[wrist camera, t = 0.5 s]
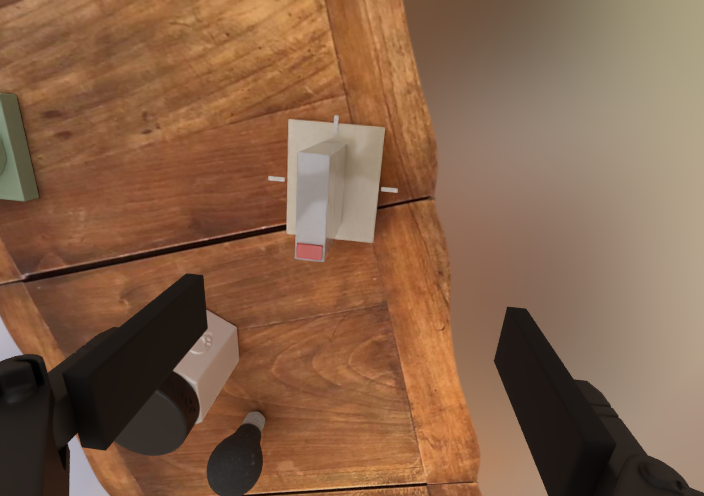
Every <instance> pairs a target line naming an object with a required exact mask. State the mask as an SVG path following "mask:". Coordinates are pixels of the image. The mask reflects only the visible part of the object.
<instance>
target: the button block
mask: <svg viewBox="0 0 704 496" xmlns="http://www.w3.org/2000/svg"><path fill="white" fill-rule="evenodd" d="M37 198H39V194H38V190H37V185H36V181H35V176H34V172H33V167H32V163H31V158H30V154H29V150H28V145H27V141H26V136H25V132H24V127H23V123H22V118H21V114H20V109H19V105H18V100H17V96H16V94H7V93H0V199H7V200H16V201H28V200H32V199H37Z"/></svg>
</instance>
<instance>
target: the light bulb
mask: <svg viewBox="0 0 704 496" xmlns="http://www.w3.org/2000/svg"><path fill="white" fill-rule="evenodd" d="M264 425H265V418H264V416H263V415H262V414H261V413H260V412H250V413H248V414H247V416H246V417H245V419H244V421H243V423H242V425H241V426H240V427H239V428H238V429H237V431H236V432H235V433H234V434H232V435H231V436H229V437H227V438H226V439H224V440H223V441H222V442H221V443H220V444H219V445H218V446H217V447H216V448H215V449H214V451H213V452H212V454H211V456H210V458H209V461H208V465H207V479H208V482H209V485H210V487H211V488H212V490H213V491H214V492H215V493H216V494H218V495H220V496H241V495H243V494H245V493H247V492H248V491H249V490H250V489H251V488H252V487H253V486H254V485H255V483H256V482H257V480H258V479H259V476H260V474H261V470H262V465H263V456H262V451H261V446H260V441H261V432H262V430H263V427H264Z"/></svg>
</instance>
